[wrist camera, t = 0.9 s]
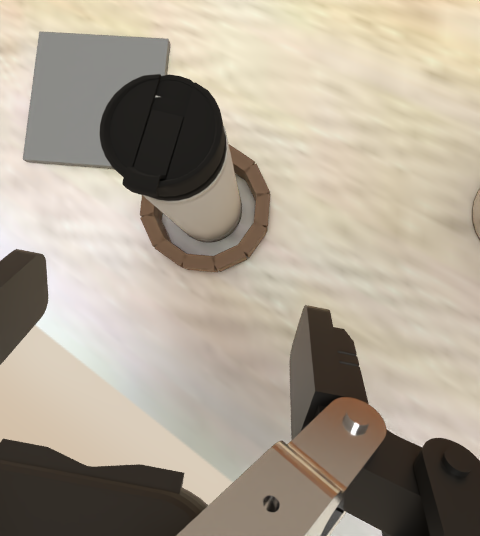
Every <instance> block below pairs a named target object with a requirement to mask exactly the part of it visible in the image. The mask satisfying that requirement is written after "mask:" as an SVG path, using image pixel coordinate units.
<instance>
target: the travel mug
mask: <svg viewBox="0 0 480 536" xmlns="http://www.w3.org/2000/svg"><path fill="white" fill-rule="evenodd" d="M100 142H101V147H102V150H103V152H104V155H105V157H106V159H107V160H108V161H109V163H110V164H111V166H112V167H113V168H114V169H115V170H116V171H117V172H118V173H119V174H121V175H122V176H123V177H124V179H123V185H124V186H125V187H126V188H127V189H129V190H130V191H132V192H134V193H138V194H141V195H143V196H144V197H145V198H146V199H147V200H149V201H150V202H151V203H152V204H153V205H154V206H155V207H157V208H158V209H159V210H160V211H161V212H162V213H164V214H165V215H166V216H167V217H168V218H169V219H171V220H172V221H173V222H174V223H175V224H176V225H177V226H179V227H180V228H181V229H182V230H183V231H184V232H186V233H187V234H188V235H189V236H191V237H192V238H194V239H196V240H199V241H203V242H215V241H219V240H221V239H223V238H226V237H227V236H228V235H230V234H231V233H232V232H233V231H234V230H235V228H236V227H237V225H238V224H239V221H240V218H241V213H242V205H241V200H240V195H239V191H238V186H237V181H236V177H235V172H234V168H233V163H232V158H231V154H230V149H229V144H228V140H227V135H226V131H225V128H224V126H223V122H222V117H221V113H220V109H219V107H218V105H217V103H216V101H215V99H214V98H213V96H212V95H211V94H210V92H209V91H208V90H206V89H205V88H203V87H202V86H200V85H199V84H197V83H195V82H194V83H193V82H192V81H191V80H190V79H187V78H184V77H181V76H175V75H164V76H161V74H154V75H144V76H141V77H139V78H136V79H134V80H132V81H131V82H129V83H127V84H126V85H124V86H123V87H122V88H121V89H120V90H119V91H117V92H116V93H115V94H114V96H113V97H112V98H111V100H110V101H109V102H108V104H107V106H106V108H105V110H104V112H103V115H102V119H101V123H100Z"/></svg>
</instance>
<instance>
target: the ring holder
mask: <svg viewBox="0 0 480 536" xmlns="http://www.w3.org/2000/svg"><path fill="white" fill-rule="evenodd" d="M229 149H230V154H231V158H232V163H233V168H234V172H235V173H236V174H237V175H239V176H240V177H241V178H243V179H244V180H246V181H247V183H248V186H249V188H250V190H251V192H252V194H253V196H254V198H255V200H256V206H255V217H254V223H253V224H252V226H251V227H250V229H249V230H248V231H247V233H246V234H245V236H244V237H243V239H242V240H241V241H240V243H239V244H238V245H236V246H234V247H232V248H230V249H228V250H226V251H224V252H221V253H219V254H217V255H215V256H204V255H193V254H186V253H185V252H184V251H182V250H181V249H179V248H178V247H177V246H175V245H174V244H172V243H171V241H170V238H169V236H168V234H167V232H166V229H165V227H164V225H163V223H162V221H161V220H162V212H161V211H160V210H159V209H158V208H157V207H155V206H154V205H153V204H152V203H151V202H150V201H149V200H147V199H146V198H145V197H144V196H143V195H142V201H141V210H140V216H142V217H141V220H142V223H143V225H144V227H145V229H146V232H147V234H148V236H149V239H150V241H151V243H152V245H153V246H154V247H155V249H156V250H158V251H159V252H161V253H162V254H163V255H165V256H166V257H168V258H169V259H170V260H172V261H173V262H175V263H176V264H177V265H179V266H180V267H183V268H186V269H188V270H198V271H210V272H218V271H220V272H221V271H223V270H225V269H227V268H229V267H232V266H234V265H236V264H238V263H240V262H242V261H245V260H247V258H246V256H247V257H250V256H251V254H252V253H253V251H254V250H255V249H256V247H257V246H258V244H259V243H260V242H261V240H262V239H263V237H264V236H265V234H266V231H267V226H268V214H269V203H270V191H269V189H268V187H267V185H266V183H265V181H264V179H263V176H262V174H261V172H260V170H259V168H258V166H257V164H255V161H253V160H252V159H250V158H249V157H247V156H246V155H244V154H243V153H241V152H240V151H238V150H237V149H235V148H234V147H232V146H231V145H229Z"/></svg>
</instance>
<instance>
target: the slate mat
mask: <svg viewBox="0 0 480 536" xmlns="http://www.w3.org/2000/svg"><path fill="white" fill-rule="evenodd" d="M169 50H170V42H169V39H162V38H144V37H126V36H109V35H91V34H73V33H56V32H39V39H38V46H37V54H36V62H35V69H34V77H33V85H32V92H31V100H30V108H29V115H28V123H27V131H26V138H25V146H24V154H23V160H25V161H26V162H33V163H46V164H59V165H73V166H86V167H99V168H112V169H114V168H113V167H112V166H111V164H110V163H109V161H108V160H107V159H106V157H105V155H104V152H103V150H102V147H101V142H100V123H101V119H102V115H103V112H104V110H105V108H106V106H107V104H108V102H109V101H110V100H111V98H112V97H113V96H114V94H115V93H116V92H117V91H119V90H120V89H121V88H122V87H123V86H124V85H126V84H127V83H129V82H131V81H132V80H134V79H136V78H139V77H141V76H144V75H154V74H161V76H164V75H167V69H168V59H169Z"/></svg>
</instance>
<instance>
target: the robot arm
mask: <svg viewBox="0 0 480 536" xmlns="http://www.w3.org/2000/svg"><path fill="white" fill-rule="evenodd" d="M473 223H474V226H475V230H476V233H477V235H478V236H479V238H480V190H479V191H478V193H477V196H476V198H475V200H474V206H473ZM47 304H48V285H47V270H46V259H45V257H44V255H43V254H39V253H34V252H29V251H24V250H18V249H16V250H14V251H12V252H11V253H10V254H9V255H7V256H6V257H5V258H3V259H2V260H1V261H0V364H1V363H2V362H3V361H4V360H5V359H6V358H7V357H8V355H9V354H10V353H11V352H12V351H13V350H14V348H15V347H16V346H17V345H18V344H19V343H20V341H21V340H22V339H23V338H24V337H25V336H26V335H27V333H28V332H29V331H30V330H31V329H32V328H33V327H34V325H35V324H36V323H37V322H38V321H39V320H40V318H41V317H42V316H43V314H44V312H45V310H46V307H47ZM290 399H291V436H292V441H291V442H290V443H288V444H286V443H284V442H283V441H279V442H277V443H276V444H274V445H273V446H272V447H271V448H270V449H269V450H268V451H267V452H266V453H264V454H263V455H262V456H261V457H260V458H259V459H258V460H257V461H256V462H255V463H254V464H253V465H252V466H250V467H249V468H248V469H247V470H246V471H245V472H244V473H243V474H242V475H241V476H240V477H239V478H238V479H236V480H235V481H234V482H233V483H232V484H231V485H230V486H229V487H228V488H227V489H226V490H225V491H224V492H223V493H221V494H220V495H219V496H218V497H217V498H216V499H215V500H214V501H213V502H212V503H211V504H210V505H209V506H208V505H207V504H206V503H205V502H204V501H203V500H201V499H200V498H199V497H197V496H196V495H194V494H193V493H191V492H189V491H188V490H185V489H184V488H182V484H183V477H184V473H182V472H176V471H172V470H166V469H161V468H155V467H150V466H145V465H120V466H101V467H90V466H86V465H83V464H81V463H79V462H77V461H75V460H73V459H71V458H69V457H67V456H65V455H63V454H61V453H59V452H57V451H55V450H52V449H50V448H48V447H44V446H39V445H34V444H28V443H23V442H18V441H12V440H7V439H3V440H2V441H1V442H0V536H330V534H331V533H332V531H333V530H334V529H335V527H336V526H337V524H338V523H339V522H340V520H341V519H342V517H343V516H344V515H345V513H346V512H347V513H349V514H351V515H353V516H355V517H357V518H359V519H361V520H363V521H365V522H366V523H368V524H370V525H372V526H374V527H376V528H378V529H380V530H382V536H480V461H479V460H478V459H477V458H476V457H475V456H474V455H473V454H472V453H471V452H470V451H469V450H467V449H466V448H465V447H463V446H461V445H460V444H458V443H456V442H453V441H451V440H448V439H443V438H434V439H430V440H428V441H427V442H426V443H425V444H424V446H423V448H422V447H420V446H418V445H415V444H413V443H411V442H409V441H407V440H404V439H402V438H400V437H398V436H396V435H394V434H393V433H391V432H389V431H388V430H387V429H386V425H385V422H384V420H383V418H382V417H381V415H380V414H379V413H378V412H377V411H376V410H375V409H374V408H373V407H371V406H370V405H369V404H368V400H367V396H366V391H365V387H364V383H363V379H362V375H361V371H360V367H359V362H358V358H357V357H356V350H355V346H354V342H353V340H352V339H351V338H350V336H349V335H348V334H347V332H346V331H345V330H344V329H340V328H335V327H333V324H332V319H331V313H330V310H328V309H322V308H317V307H312V306H307V305H305V306H304V308H303V311H302V314H301V318H300V321H299V324H298V328H297V331H296V334H295V338H294V341H293V345H292V349H291V354H290Z"/></svg>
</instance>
